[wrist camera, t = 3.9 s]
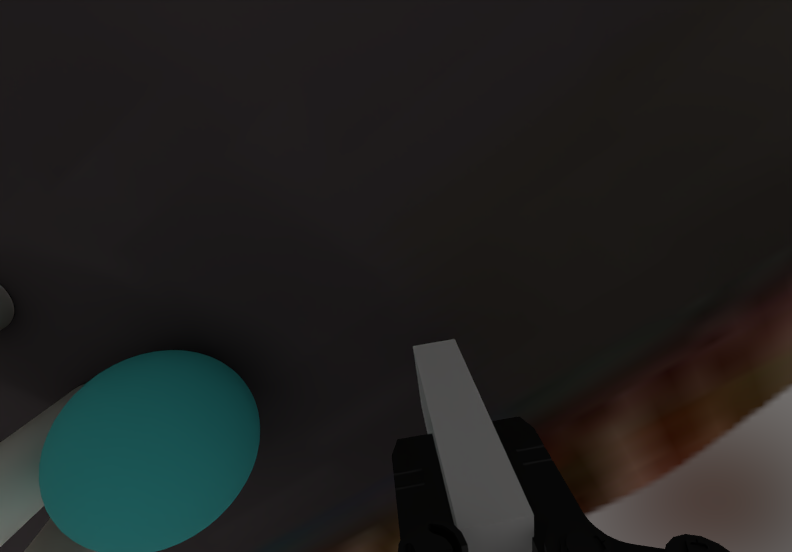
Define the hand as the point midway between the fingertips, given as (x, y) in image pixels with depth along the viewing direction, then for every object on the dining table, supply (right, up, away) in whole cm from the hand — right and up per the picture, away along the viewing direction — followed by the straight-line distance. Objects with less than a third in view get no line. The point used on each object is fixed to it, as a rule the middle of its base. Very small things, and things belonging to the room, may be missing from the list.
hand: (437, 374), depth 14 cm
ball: (-9, -2, -1) cm, 9 cm away
